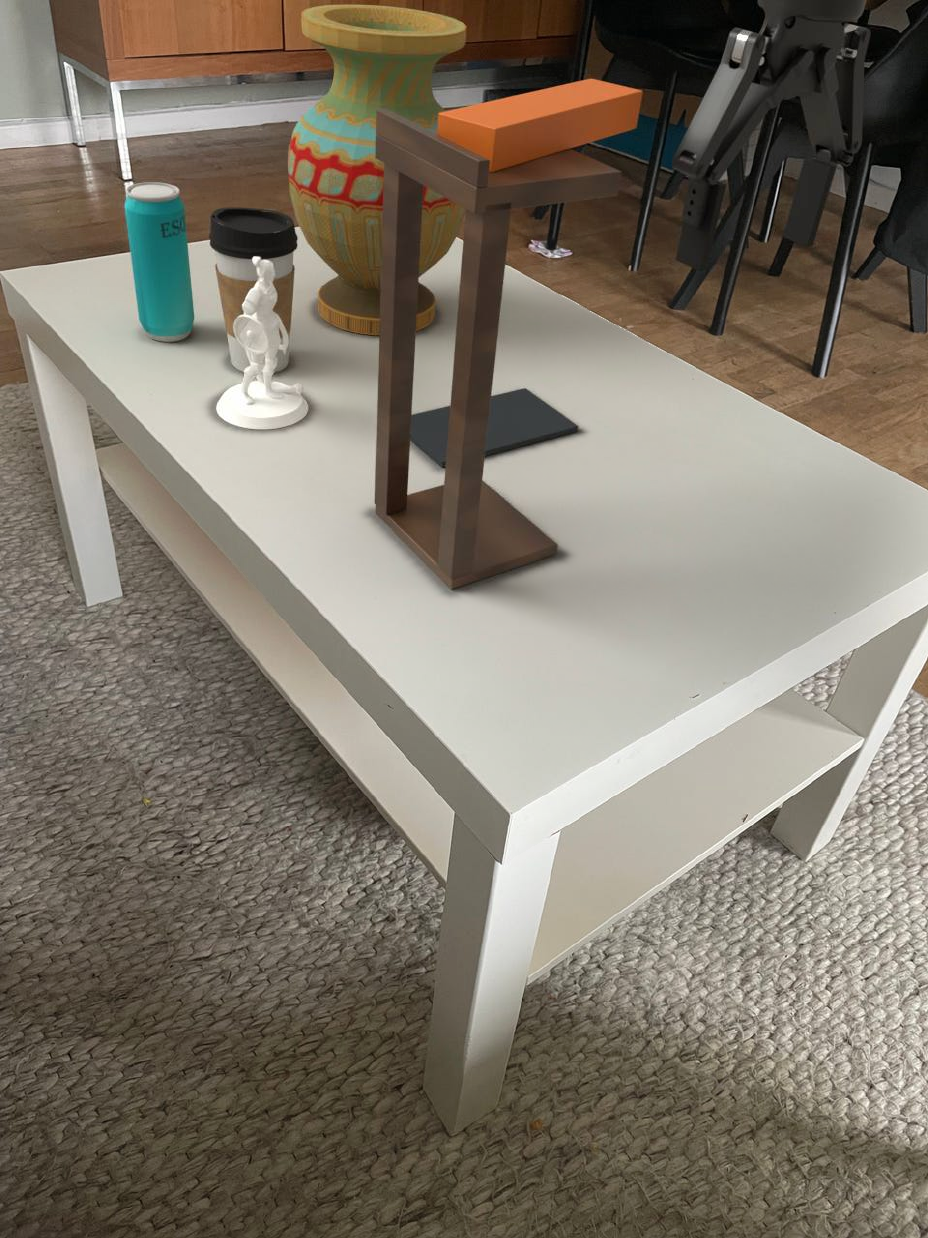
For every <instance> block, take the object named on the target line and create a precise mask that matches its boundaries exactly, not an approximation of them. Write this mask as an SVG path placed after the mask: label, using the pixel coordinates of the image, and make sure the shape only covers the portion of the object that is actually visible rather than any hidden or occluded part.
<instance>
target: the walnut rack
mask: <svg viewBox="0 0 928 1238" xmlns="http://www.w3.org/2000/svg"><path fill="white" fill-rule="evenodd" d="M375 158H376V159H378V160H380V161H381V162H383V163H384V187H383V222H382V257H381V292H380V328H379V335H378V337H379V338H378V364H377V365H378V366H377V368H378V369H377V402H376V404H377V406H376V435H375V436H376V438H375V439H376V440H375V468H374V469H375V471H374V472H375V473H374V474H375V475H374V505H375V510H374V511H375V514H376V515H377V516H378V518H380V520H382V521H383V522H384V523H385V524H386V525H387V527H389V528H390V530H391V531H393V532H394V534H396V536H398V538H400V539H401V540H402V542H403V543H405V545H407V547H408V548H409V549H410V550H412V552H414V554H415V555H416V556H418V557H419V559H420V560H421V561H422V562H423V563H424V564H425V565H426V566H427V567H428V568H429V569H430V570H431V571H432V572H433V573H434V574H435V575H436V576H437V577H438V578H439V579H440V580H441V581H442V582H443V583H444V584H445V585H446V586H447V587H448V588H449V589H450V590H454V589H457V588H460V587H463V586H467V585H469V584H472V583H475V582H478V581H481V580H484V579H487V578H490V577H493V576H496V575H499V574H501V573H502V574H503V573H504V572H508V571H510V570H514V569H517V568H519V567H523V566H526V565H528V564H531V563H534V562H537V561H540V560H543V559H546V558H549V557H552V556H555V555H557V554H558V548H559V544H558V543H557V542H556V541H555V540H553V539H552V538H551V537H550V536H549V535H547V534H546V533H545V532H544V531H543V530H542V529H540V528H539V527H538V526H537V525H536V524H534V523H533V522H532V521H531V520H530V519H529V518H527V517H526V516H525V515H524V514H523V513H522V512H521V511H519V510H518V509H517V508H516V507H515V506H513V504H512V503H510V502H509V501H508V500H506V499H505V498H504V497H503V496H502V495H501V494H500V493H498V492H497V491H496V490H495V489H493V488H492V487H491V486H490V484H489V485H488V483H487V482H485V480H483V476H484V467H485V460H486V459H485V458H486V456H485V449H486V440H487V431H488V421H489V412H490V402H491V396H492V392H493V383H494V373H495V366H496V365H495V364H496V355H497V346H498V345H497V344H498V335H499V328H500V318H501V306H502V299H503V289H504V279H505V272H506V271H505V270H506V262H507V253H508V243H509V242H508V241H509V233H510V224H511V215H512V210H517V209H524V208H532V207H541V206H549V205H557V204H563V203H572V202H578V201H579V202H580V201H586V200H593V199H594V200H595V199H602V198H610V197H617V196H618V195H619V190H620V184H621V179H622V173H623V172H622V170H619V169H617V168H614V167H612V166H610V165H608V164H606V163H603V162H601V161H599V160H596V159H595V158H591V157H590V156H588V155H585V154H583V153H581V152H578V151H576V150H575V149H573V148H570V149H567V150H563V151H560V152H557V153H554V154H550V155H547V156H544V157H541V158H537V159H534V160H531V161H527V162H524V163H521V164H518V165H514V166H511V167H508V168H505V169H501V170H498V171H495V172H489V166H490V160H489V159H487V158H485V157H483V156H481V155H479V154H477V153H475V152H472V151H470V150H468V149H466V148H464V147H462V146H460V145H458V144H456V143H454V142H452V141H450V140H448V139H446V138H444V137H442V136H440V135H438V134H437V129H436V130H428V129H426V128H424V127H422V126H420V125H418V124H416V123H414V122H412V121H410V120H408V119H406V118H404V117H402V116H400V115H398V114H396V113H394V112H392V111H390V110H388V109H377V110H376V149H375ZM423 185H424V186H426V187H428V188H429V189H431V190H433V191H435V192H436V193H438V194H440V195H442V196H444V197H445V198H447V199H449V200H451V201H452V202H454V203H456V204H458V205H459V206H461V207H463V208H465V209H466V213H465V216H464V227H463V241H462V253H461V267H460V279H459V291H458V302H457V304H458V305H457V315H456V317H457V318H456V328H455V341H454V343H455V344H454V354H453V369H452V379H451V392H450V404H449V406H450V417H449V429H448V442H447V455H446V467H444V468H445V469H444V479H443V480H444V482H443V484H441V485H437V486H434V487H431V488H427V489H423V490H420V491H416V492H413V493H410V494H408V489H409V488H408V487H409V468H410V449H411V440H410V433H411V415H413V414H412V412H413V392H414V372H415V355H416V339H417V337H416V336H417V335H416V334H417V331H416V319H417V300H418V282H419V278H420V277H419V261H420V242H421V223H422V204H423Z"/></svg>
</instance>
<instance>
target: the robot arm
mask: <svg viewBox="0 0 928 1238" xmlns="http://www.w3.org/2000/svg"><path fill="white" fill-rule="evenodd" d="M866 4H867V0H757V5H758V6H759V7H760V8H761V9H762V10H763V11H764V19H763V24H762V26H761V28H760V30H759V32H754V31H750V30H746V29H743V28H739V27H733V29H731V31H729V34H728V37H727V40H726V44H725V47H724V51H723V54H722V58H721V62H720V64H719V66H718V68H717V70H716V72H715V73H714V76H713V77H712V80H711V82H710V84H709V85H708V88H707V89H706V92H705V94H704V96H703V97H702V100H701V102H700V104H699V106H698V108H697V110H696V111H695V114H694V115H693V118H692V119H691V122H690V124H689V125H688V128H687V129H686V132H685V134H684V136H683V137H682V140H681V141H680V144H679V146H678V148H677V150H676V152H675V154H674V156H673V158H672V161H671V167H672V169H673V170H676V171H678V172H679V173H681V174H683V175H686V176H687V177H688V186H687V190H686V194H685V200H684V203H683V209H682V213H681V222H682V227H681V231H680V237H679V242H678V246H677V251H676V255H675V261H676V262H678V263H681V264H683V265H685V266H688V267H689V268H692V269H694V270H696V271H698V272H703V271H707V269H708V265H709V261H710V257H711V252H712V249H713V245H714V239H715V236H716V231H717V227H718V222H719V218H720V213H721V209H722V206H723V201H724V198H725V197H724V196H725V193H726V188H727V184H726V183H724V182H722V181H720V180H721V179H722V177H723V175H724V174H725V173H726V171H727V170H728V169H729V167H730V166H731V164H732V163H733V161H734V160H735V158H736V157H737V156H738V154H739V153H740V152H741V150H742V149H743V147H744V146H745V145H746V143H747V142H748V140H749V139H750V138H751V136H752V135H753V133H754V132H755V131H756V129H757V127H758V126H759V125H760V123H761V122H762V120H763V119H764V118H765V116H766V115H767V113H768V112H769V111H770V110H771V109H774V108H776V107H778V106H779V105H780V104H781V103H782V102H783V101H785V100H786V101H787V100H792V99H793V98H796V97H799V99H800V103H801V104H800V105H801V108H802V111H803V116H804V121H805V125H806V129H807V134H808V138H809V142H810V147H811V151H812V155H813V156H814V158H813V157H811V156H810V157H809V156H808V157H804V159H803V162H802V164H801V165H802V166H801V170H800V173H799V176H798V180H797V183H796V187H795V191H794V193H793V194H794V195H793V198H792V201H791V205H790V209H789V213H788V215H787V216H788V217H787V220H786V224H785V227H784V231H783V235H782V238H784V239H787V240H789V241H791V242H794V243H796V244H799V245H801V246H803V247H806V248H809V247H813V246H814V243H815V240H816V237H817V233H818V230H819V226H820V223H821V220H822V216H823V213H824V209H825V207H826V202H827V199H828V197H829V195H830V191H831V188H832V185H833V182H834V178H835V175H836V172H837V169H838V165H840V166H842V167H843V166H844V167H849V166H850V165H851V164H852V162H853V161H854V158H855V154H857V153H858V152H859V150H860V149H861V146H862V143H863V120H864V117H863V115H864V90H865V89H864V87H865V60H866V55H867V52H868V51H867V50H868V46H869V42H870V38H871V29H870V28H867V27H863V26H859V25H855V24H851V22H855V21H857V20H858V19H859V18H861V17H862V15H863V13H864V10H865V7H866ZM759 83H760V84H759ZM843 131H847V133H845V132H843ZM692 155H693V156H692ZM712 161H713V162H712Z"/></svg>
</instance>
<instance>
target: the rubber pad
mask: <svg viewBox="0 0 928 1238" xmlns="http://www.w3.org/2000/svg"><path fill="white" fill-rule="evenodd" d="M449 417H450V405H447V406H443V407H439V408H435V409H431V410H430V409H429V410H425V411H422V412H417V413H413V414H411V433H410V442H412V443H413V444H414V445H415V446H417V447H418V448H419V449H420V450H421V451H422V452H424V453H425V454H426V455H427V456H428V457H429V458H430V459H432V461H434V462H435V463H436V464H437V465H438V466H440V468H445V467H446V455H447V442H448V429H449ZM576 432H579V425H578V424H576V423H575V422H573V421H572V420H571V419H569V418H568V417H567V416H565V415H563V414H562V413H561V412H559V410H557V409H555V408H554V407H552V406H551V405H550V404H548V403H547V402H545V401H544V400H543V399H541V398H540V397H538V396H537V395H536V394H535V393H533V392H532V391H530V390H529V389H527V388H525V387H524V388H520V389H516V390H512V391H506V392H503V393H498V394H493V395H491V402H490V412H489V421H488V431H487V440H486V449H485V457H487V456H490V455H494V454H495V455H496V454H497V453H501V452H505V451H509V450H513V449H516V448H521V447H524V446H527V445H531V444H532V445H533V444H535V443H540V442H542V441H546V440H550V439H555V438H558V437H561V436H565V435H570V434H573V433H576Z"/></svg>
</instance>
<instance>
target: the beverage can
mask: <svg viewBox="0 0 928 1238" xmlns="http://www.w3.org/2000/svg"><path fill="white" fill-rule="evenodd" d="M180 193H181V192H180V189H179V188H178V187H177V186H175V185H173V184H170V183H165V182H157V181H146V182H138V183H134V184H130V185H128V186H127V187H126V188H125V194H126V199H125V201H124V213H125V220H126V229H127V237H128V243H129V251H130V259H131V267H132V276H133V281H134V290H135V298H136V305H137V306H136V307H137V313H138V319H139V322H140V324H141V326H142V328H143V330H144V332H145V333H146V335H147V336H148V337H149V338H150V339H152V340H154V341H157V342H163V343H170V342H171V343H173V342H179V341H182V340H184V339H186V338H188V337H189V335H190V334H191V331H192V329H193V325H194V322H195V309H194V298H193V288H192V277H191V265H190V256H189V255H190V254H189V244H188V234H187V224H186V223H187V222H186V213H185V204H184V203H183V200H182V199H181V196H180Z"/></svg>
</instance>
